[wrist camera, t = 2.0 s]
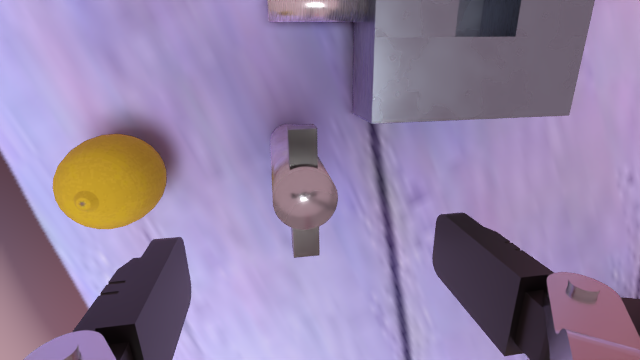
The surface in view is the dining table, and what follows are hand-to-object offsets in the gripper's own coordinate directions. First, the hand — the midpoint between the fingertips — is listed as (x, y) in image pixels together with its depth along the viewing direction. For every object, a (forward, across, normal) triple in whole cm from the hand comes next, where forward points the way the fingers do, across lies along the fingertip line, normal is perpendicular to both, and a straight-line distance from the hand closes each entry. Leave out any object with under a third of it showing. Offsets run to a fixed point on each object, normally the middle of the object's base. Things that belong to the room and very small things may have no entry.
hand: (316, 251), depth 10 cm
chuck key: (+16, 0, 0) cm, 16 cm away
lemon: (+16, +11, +1) cm, 20 cm away
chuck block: (+16, -9, -9) cm, 21 cm away
